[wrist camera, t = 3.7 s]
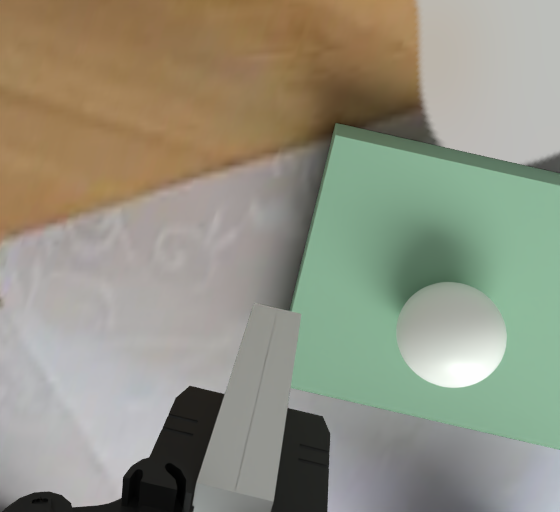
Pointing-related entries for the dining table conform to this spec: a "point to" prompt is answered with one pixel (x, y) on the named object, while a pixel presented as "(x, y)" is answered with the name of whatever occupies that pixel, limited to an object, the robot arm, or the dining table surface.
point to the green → (430, 279)
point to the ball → (451, 334)
